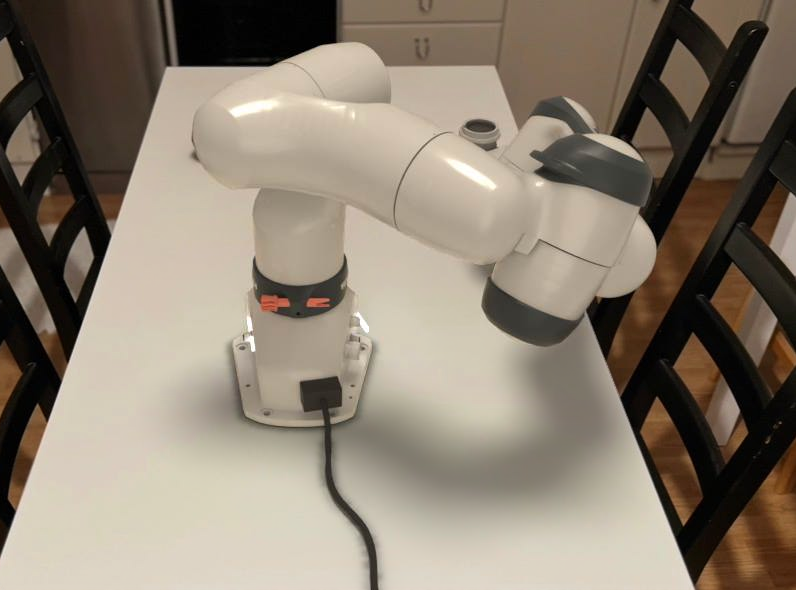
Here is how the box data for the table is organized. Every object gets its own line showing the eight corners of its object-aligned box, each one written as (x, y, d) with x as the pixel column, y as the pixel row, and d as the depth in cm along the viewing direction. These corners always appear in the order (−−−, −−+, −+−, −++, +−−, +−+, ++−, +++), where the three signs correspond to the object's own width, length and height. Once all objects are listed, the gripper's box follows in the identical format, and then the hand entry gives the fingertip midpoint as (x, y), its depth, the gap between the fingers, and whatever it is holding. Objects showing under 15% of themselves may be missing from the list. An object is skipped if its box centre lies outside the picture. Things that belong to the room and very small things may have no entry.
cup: (449, 184, 156) (455, 116, 148) (487, 182, 156) (495, 114, 148) (458, 205, 151) (464, 136, 143) (497, 202, 151) (506, 134, 143)
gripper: (579, 151, 142) (526, 115, 151) (467, 181, 135) (420, 141, 144) (571, 187, 146) (521, 151, 155) (463, 218, 140) (417, 178, 148)
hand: (471, 146), depth 150 cm, fingers closed, pressing on cup
